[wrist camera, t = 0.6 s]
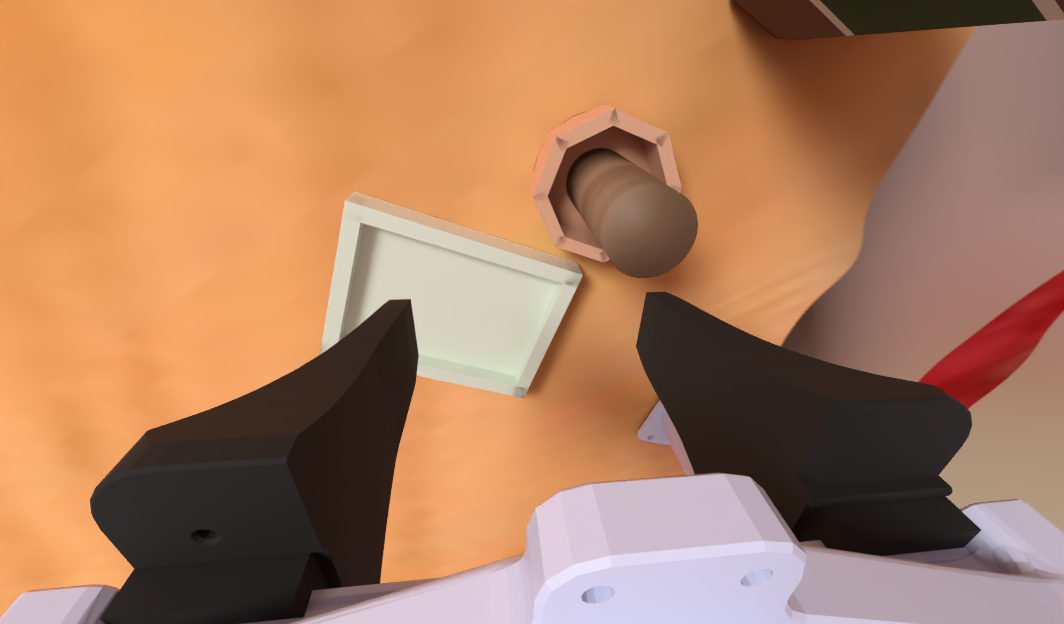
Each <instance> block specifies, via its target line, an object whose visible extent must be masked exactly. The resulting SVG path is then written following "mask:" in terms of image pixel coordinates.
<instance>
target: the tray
mask: <svg viewBox="0 0 1064 624" xmlns="http://www.w3.org/2000/svg"><path fill="white" fill-rule="evenodd" d="M582 276H583V274H582V272H581V270H580V268H579V266H578V264H577V263H576V262H573V261H570V260H567V259H564V258H561V257H557V256H554V255H551V254H548V253H545V252H542V251H539V250H536V249H533V248H529V247H526V246H523V245H520V244H517V243H514V242H511V241H508V240H505V239H501V238H498V237H495V236H492V235H489V234H486V233H483V232H480V231H477V230H473V229H470V228H467V227H464V226H461V225H458V224H455V223H452V222H449V221H445V220H442V219H439V218H436V217H433V216H430V215H427V214H424V213H421V212H417V211H414V210H411V209H408V208H405V207H402V206H399V205H396V204H393V203H389V202H386V201H383V200H380V199H377V198H374V197H371V196H368V195H364V194H361V193H358V192H355V191H354V192H353V193H352V194H351V195H350V196H349V197H348V198H347V199H346V200H345V204H344V210H343V216H342V222H341V228H340V234H339V241H338V247H337V253H336V259H335V265H334V271H333V277H332V283H331V289H330V296H329V302H328V308H327V314H326V320H325V326H324V332H323V338H322V344H321V351H320V354H322V353H323V352H325V351H326V350H328V349H329V348H330V347H332V346H333V345H334V344H336V343H337V342H338V341H340V340H341V339H342V338H344V337H345V336H346V335H348V334H349V333H350V332H352V331H353V330H354V329H355V328H357V327H358V326H359V325H360V324H361V323H362V322H364V321H365V320H366V319H367V318H368V317H370V316H371V315H372V314H373V313H374V312H375V311H376V310H378V309H379V308H380V307H381V306H382V305H383V304H385V303H386V302H387V301H388V300H395V299H411V304H412V311H413V318H414V325H415V332H416V339H417V347H418V354H419V357H418V367H417V376H422V377H426V378H431V379H436V380H441V381H445V382H450V383H455V384H459V385H464V386H469V387H474V388H478V389H483V390H488V391H492V392H497V393H502V394H507V395H511V396H516V397H521V398H524V397H525V395H526V393H527V391H528V388H529V386H530V384H531V382H532V380H533V378H534V376H535V374H536V372H537V370H538V368H539V366H540V364H541V361H542V359H543V357H544V355H545V353H546V351H547V349H548V347H549V345H550V343H551V341H552V339H553V337H554V334H555V332H556V330H557V328H558V326H559V324H560V322H561V320H562V318H563V316H564V314H565V312H566V310H567V308H568V305H569V303H570V301H571V299H572V297H573V295H574V293H575V291H576V289H577V287H578V285H579V283H580V281H581V278H582Z"/></svg>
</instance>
